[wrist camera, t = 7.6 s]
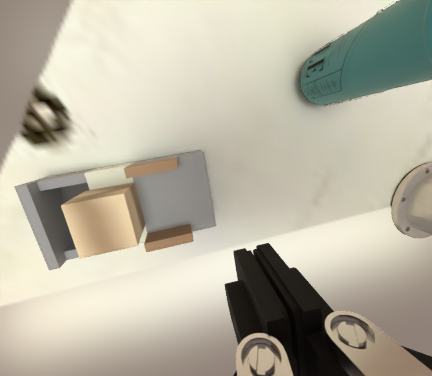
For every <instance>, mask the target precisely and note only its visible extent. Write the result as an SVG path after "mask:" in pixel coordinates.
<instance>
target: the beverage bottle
mask: <svg viewBox="0 0 432 376" xmlns="http://www.w3.org/2000/svg"><path fill="white" fill-rule="evenodd" d="M393 2H394V1H393ZM390 4H391V3H390ZM378 12H379V11H378ZM378 12H377V14H376V15H375V16H374V17H372V18H370V19H369V20H367V21H366V22H364V23H362V24H361V25H359V26H358V27H356V28H354V29H353V30H351V31H350V32H348V33H346V34H345V35H343V36H342V35H341V36H342V37H339V36H338V37H339V38H338V39H337V40H335V41H333V40H332V41H333V42H331V43H330V42H329V45H328V44H326V45H327V46H326V47H324V46H323V49H321V48H320V49H321V50H319V51H318V52H316V53H315V52H314V53H315V54H314V53H313V55H312V56H311V57H310V58H309V59H308V61H306V63H305V65H304V67H303V70H302V73H301V81H300V82H301V88H302V91H303V93H304V95H305V97H306V98H307V99H308V100H309V101H310V102H312V103H314V104H318V105H325V106H326V105H328V104H329V105H330V104H332V103H336V102H338V103H341V101H342V103H343V102H344V101H345V100H346V101H347V100H349V99H350V101H351V99H353V98H355V100H356V98H357V97H362V96H366V95H370V94H374V93H379V92H381V91H382V92H384V91H386V90H389V89H393V88H398V87H402V86H406V85H411V84H415V83H419V82H424V81H428V80H432V0H400V1H396V3H395V4H393V5H391V6H390V7H388V8H386V9H385V10H383V9H382V12H380V13H378ZM335 39H336V38H335ZM359 99H360V98H359ZM336 104H337V103H336ZM332 105H333V104H332Z"/></svg>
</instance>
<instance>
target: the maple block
mask: <svg viewBox="0 0 432 376" xmlns="http://www.w3.org/2000/svg"><path fill="white" fill-rule="evenodd" d="M61 208H62V210H63V213H64V216H65V219H66V222H67V225H68V227H69V230H70V233H71V236H72V239H73V241H74V244H75V247H76V250H77V253H78V256H79V258H85V257H89V256H94V255H98V254H103V253H107V252H112V251H117V250H121V249H126V248H130V247H135V246H138V244H139V241H140V238H141V236H142V233H143V230H144V227H145V221H144V217H143V213H142V209H141V205H140V201H139V197H138V193H137V189H136V185H135V182H133V183H127V184H121V185H116V186H110V187H104V188H99V189H93V190H88V191H85V192H83V193H81V194H79V195H78V196H76V197H74V198H72V199H71V200H69V201H67V202H66V203H64V204H62V205H61Z"/></svg>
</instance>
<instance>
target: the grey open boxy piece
mask: <svg viewBox="0 0 432 376" xmlns="http://www.w3.org/2000/svg"><path fill="white" fill-rule="evenodd" d="M133 182H135V185H136V189H137V193H138V197H139V201H140V205H141V209H142V213H143V217H144V221H145V227H144V230H143V233H142V236H141V238H140V241H139V243H144V242H145V243H144V245H145V249H146V252H150V251H154V250H158V249H163V248H167V247H171V246H175V245H180V244H184V243H188V242H193V236H192V231H197V230H201V229H205V228H210V227H214V226H216V222H215V216H214V210H213V204H212V199H211V193H210V187H209V181H208V175H207V170H206V164H205V158H204V152H202V151H200V150H199V151H194V152H188V153H182V154H176V155H171V156H165V157H159V158H153V159H148V160H142V161H136V162H131V163H125V164H119V165H113V166H108V167H102V168H96V169H91V170H85V171H79V172H73V173H68V174H62V175H56V176H50V177H45V178H42V179H39V180H35V181H32V182H29V183H25V184H22V185H19V186H15V189H16V192H17V194H18V197H19V199H20V201H21V204H22V206H23V209H24V211H25V213H26V216H27V218H28V221H29V223H30V225H31V228H32V230H33V233H34V235H35V237H36V240H37V242H38V245H39V247H40V249H41V252H42V254H43V257H44V259H45V261H46V264H47V266H48V269H49V270H53V269H57V268H60V267H61V266H62V265H63V264H64V262H65V261H66V260H69V259H73V258H77V257H79V256H78V253H77V250H76V247H75V244H74V241H73V239H72V236H71V233H70V230H69V227H68V225H67V222H66V219H65V216H64V213H63V210H62V208H61V205H62V204H64V203H66V202H67V201H69V200H71V199H72V198H74V197H76V196H78V195H79V194H81V193H83V192H85V191H88V190H93V189H99V188H104V187H110V186H116V185H121V184H127V183H133Z"/></svg>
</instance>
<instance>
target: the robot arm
mask: <svg viewBox="0 0 432 376" xmlns="http://www.w3.org/2000/svg"><path fill="white" fill-rule="evenodd" d="M392 219H393V222H394V225H395V226H396V227H397V229H398V230H399V231H400V232H401V233H403V234H405V235H408V236H410V237H413V238H424V237H428V236H431V235H432V163H427V164H424V165H421V166H419V167H417V168H416V169H414V170H413V171H412V172H410V173H409V174H408V175H407V176H406V177H405V178H404V179H403V181H402V182H401V183H400V185H399V187H398V188H397V190H396V192H395V195H394V198H393V202H392ZM253 253H254V255H253V254H252V252H251V251H247V250H246V249H245V248H244V249H240V250H236V251H234V258H235V265H236V271H237V278H238V281H235V282H231V283H227V284H225V290H226V296H227V301H228V306H229V310H230V315H231V319H232V323H233V327H234V331H235V334H236V338H237V342H238V348H237V351H236V366H237V367H236V368H237V370H236V373H235V374H234V376H432V357H431V356H428V355H425V354H422V353H420V352H417V351H414V350H411V349H409V348H406V347H403V346H400V345H399V344H398V343H396V342H395V341H394V340H392V339H391V338H390V337H389V336H388V335H387V334H385V333H384V332H383V331H382V330H380V329H379V328H378V327H377V326H375V325H374V324H373V323H372V322H370V321H369V320H367V319H366V318H364V317H363V316H360V315H358V314H356V313H353V312H349V311H336V312H334V311H333V310H332V309H331V308H330V307H329V305H328V304H327V303H326V302H325V301H324V300H323V298H322V297H321V296H320V295H319V294H318V293H317V292H316V290H315V289H314V288H313V287H312V286H311V285H310V284H309V282H308V281H307V280H306V279H305V278H304V277H303V276H302V274H301V273H300V272H299V271H298V270H297V269H296V268H289V267H288V266H287V265H286V264H285V262H284V261H283V260H282V259H281V258H280V256H279V255H278V254H277V253H276V251H275V250H274V249H273V248H272V246H271V245H270V244H269V243H266V244H262V245H258V246H257V249H254V250H253Z"/></svg>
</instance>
